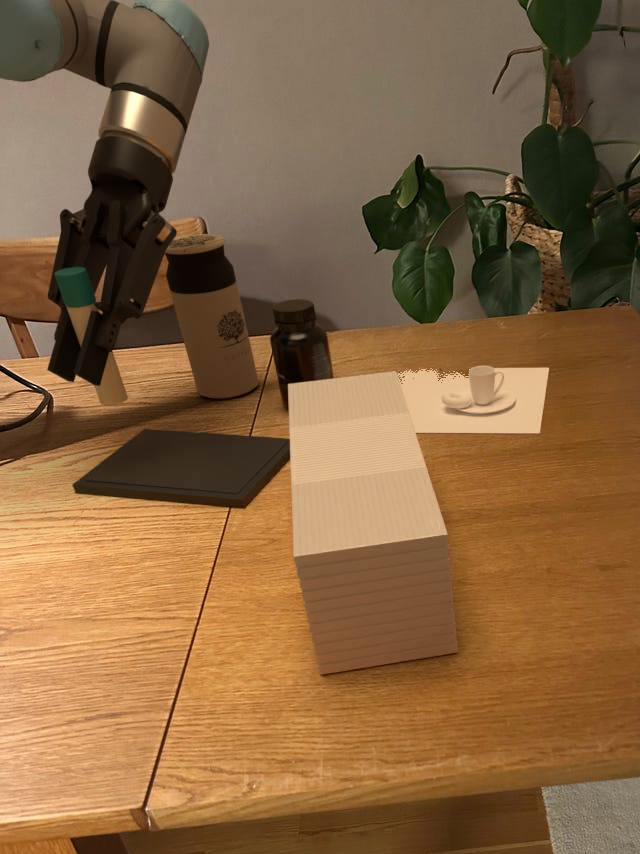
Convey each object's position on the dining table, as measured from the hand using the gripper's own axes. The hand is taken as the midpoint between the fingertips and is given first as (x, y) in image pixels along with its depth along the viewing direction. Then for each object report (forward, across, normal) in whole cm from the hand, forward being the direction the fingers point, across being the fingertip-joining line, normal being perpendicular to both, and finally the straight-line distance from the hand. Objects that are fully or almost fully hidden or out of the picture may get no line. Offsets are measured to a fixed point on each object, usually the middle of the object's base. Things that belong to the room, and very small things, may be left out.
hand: (73, 377), depth 83 cm
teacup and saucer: (-14, -28, -31) cm, 44 cm away
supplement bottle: (-9, -9, -26) cm, 29 cm away
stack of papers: (+11, -34, -6) cm, 36 cm away
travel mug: (-10, +4, -27) cm, 29 cm away
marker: (0, 0, -6) cm, 6 cm away
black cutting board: (+5, -6, -12) cm, 14 cm away
